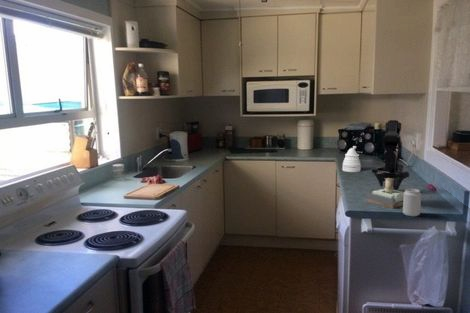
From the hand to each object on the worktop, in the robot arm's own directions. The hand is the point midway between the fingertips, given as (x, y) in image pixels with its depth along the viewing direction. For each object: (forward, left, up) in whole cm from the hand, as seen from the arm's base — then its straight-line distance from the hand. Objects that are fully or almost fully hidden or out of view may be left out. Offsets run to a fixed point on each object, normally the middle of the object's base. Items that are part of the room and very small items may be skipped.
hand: (389, 188), depth 197 cm
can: (+9, +19, -8) cm, 22 cm away
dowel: (0, 0, -5) cm, 5 cm away
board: (-2, 0, -8) cm, 8 cm away
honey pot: (-48, -68, -8) cm, 84 cm away
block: (0, 0, -6) cm, 6 cm away
